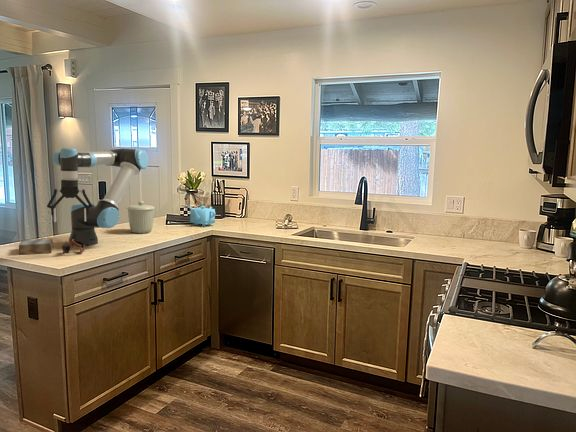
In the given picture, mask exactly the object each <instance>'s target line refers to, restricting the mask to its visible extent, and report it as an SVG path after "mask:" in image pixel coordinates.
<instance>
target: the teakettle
mask: <svg viewBox="0 0 576 432" xmlns="http://www.w3.org/2000/svg"><path fill="white" fill-rule="evenodd" d="M188 208H189V209H190V214H189V215H190V216H189V217H190V218H189V223H190V224H193V226H194V225H198V226H199V225H201V224H202V225H201V227H202V226H208V225H210V226H212V224H215V220H216V218H215V217H216V214H217V213H216V209H215V208H213V206H210V207H209V208H208V207H206V206H205V205H201V206H200V207H194V208H193V207H192V206H188Z"/></svg>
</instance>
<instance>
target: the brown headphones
mask: <svg viewBox="0 0 576 432" xmlns="http://www.w3.org/2000/svg"><path fill="white" fill-rule="evenodd" d="M77 243H78V244H77ZM72 246H73V247H75V248H77V249H78V250H79V252H78V253H79V254H80V255H82V254H83V252H84V251H85V247H86V246H85V245H84V244H83V243H82V242H80V241H78V240H75V239H72V240H71V241H69V240H68V241H67V243H64V244H63V245H62V246H61V249H62V254H63V255H65V254H69V252H70V250H71V249H72V248H73V247H72Z"/></svg>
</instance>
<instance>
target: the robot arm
mask: <svg viewBox="0 0 576 432" xmlns="http://www.w3.org/2000/svg"><path fill="white" fill-rule="evenodd" d="M52 162H53V164H55V165H56V166H60V179H61V180H60V189H59V188H54V190H53V194H52V196H51V197H50V199H49V201H48V203H47V205H46V207H47V208H49V209H50V213H51V216H53V222H54V223H56V222H57V208H56V207H57V205H58V204H59V203H60V202H61V201H62V200H63V199H65V198H66V199H69V198H70V199H74V198H76V200H78V201H79V202H80V203H74V204H72V205H71V210H70V217H71V221H70V222H71V232H70V234H69V237H68V242H69V241H71V240H72V239H75V240H78V241H80V242H82V243H83V244H84V245H85V247H86V246H94V245H97V244H99V238H98V235H97V234H96V230H95V228H101V229H112V228H114V227H115V226H116V225H117V224H118V222H119V221H120V211H119V210H120V208H119V205H120V204H121V201H122V199H123V198H124V195H125V194H126V192H127V190H128V189H129V186H130V184H131V183H132V181H133V179H134V177H135V176H136V175H139V174H140V172H141V170H145V169H147V168H148V166H149V156H148V153H147V152H146V151H145V150H144V149H139V148H136V149H135V148H116V149H105V150H104V151H78V149H77V148H73V147H72V148H68V147H62V148H60V151H56V152H54V153H53V155H52ZM96 165H97V166H98V165H99V166H101V165H102V166H103V165H104V166H106V167H107V166H108V167H117V168H120V169H119V171H118V172H117V175H116V176H115V178H114V179H113V181H112V182H111V183H112V184H111V185H110V186H109V188H108V190H107V192H106V193H105V195H104V197H103V199H99V200H98V202H97V204H96V205H95V203H94V202H91V201H90V199H89V197H88V195H87V194H86V189H85V188H82V189H79V180H78V179H79V177H78V175H79V174H78V173H79V169H78V168H94V167H95V166H96ZM59 193H61V196H60V197H59V198H58V199H57V200H56V201H55V202H54V203H53V201H54V200H55V198H56V196H57V194H59ZM79 193H80V194H82V196H83V197H84V199H85V201H86V202H85V201H84V200H83V199H82V198H81V197H80V196H79V195H78V194H79ZM52 203H53V205H52ZM77 244H78V243H77Z"/></svg>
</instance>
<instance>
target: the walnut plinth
mask: <svg viewBox="0 0 576 432" xmlns="http://www.w3.org/2000/svg"><path fill="white" fill-rule="evenodd" d="M53 241H54V240H53V238H30V239H22V240H21V241H20V243H19V244H18V255H19V256H24V255H42V254H52V251H53V248H54V244H53V243H54V242H53Z"/></svg>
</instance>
